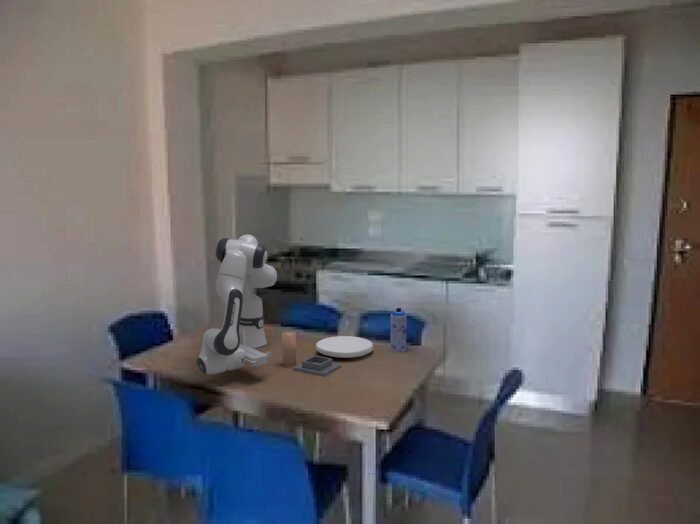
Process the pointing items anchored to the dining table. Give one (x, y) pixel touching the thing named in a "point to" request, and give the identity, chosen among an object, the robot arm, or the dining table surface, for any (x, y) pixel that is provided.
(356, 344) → the plate
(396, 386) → the dining table surface
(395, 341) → the aerosol can
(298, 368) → the grey square tray
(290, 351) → the salmon pink cylinder
